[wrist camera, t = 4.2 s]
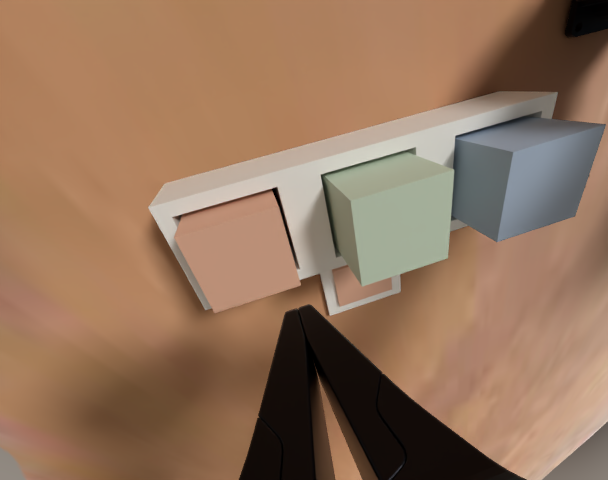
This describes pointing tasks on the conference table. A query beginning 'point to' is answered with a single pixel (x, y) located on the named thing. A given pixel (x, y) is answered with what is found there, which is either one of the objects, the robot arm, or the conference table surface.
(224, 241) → the terracotta key
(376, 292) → the card
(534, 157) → the slate blue key
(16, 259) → the conference table surface
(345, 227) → the sage green key
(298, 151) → the key console
